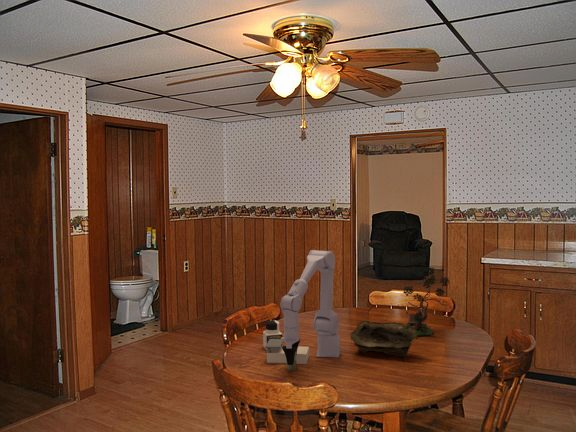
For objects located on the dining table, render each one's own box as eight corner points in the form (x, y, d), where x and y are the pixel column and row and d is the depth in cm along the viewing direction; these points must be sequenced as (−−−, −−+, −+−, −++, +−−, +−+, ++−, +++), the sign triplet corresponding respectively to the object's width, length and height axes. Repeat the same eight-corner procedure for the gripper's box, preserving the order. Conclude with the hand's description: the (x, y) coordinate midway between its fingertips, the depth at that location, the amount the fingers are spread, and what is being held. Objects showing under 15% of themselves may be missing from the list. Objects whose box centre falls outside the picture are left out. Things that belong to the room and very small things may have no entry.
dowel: (297, 367, 197) (296, 347, 197) (295, 370, 194) (295, 350, 193) (288, 367, 198) (287, 347, 197) (286, 370, 194) (286, 349, 194)
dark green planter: (417, 370, 206) (426, 337, 214) (410, 354, 198) (420, 321, 206) (354, 357, 221) (365, 327, 229) (345, 342, 213) (356, 312, 221)
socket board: (309, 355, 212) (309, 339, 212) (306, 364, 201) (306, 347, 201) (270, 354, 214) (269, 338, 214) (265, 363, 203) (265, 346, 203)
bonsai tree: (450, 342, 228) (449, 272, 227) (394, 338, 236) (394, 270, 235) (450, 323, 261) (450, 262, 260) (402, 320, 269) (401, 261, 268)
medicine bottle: (266, 351, 219) (266, 323, 219) (263, 346, 226) (262, 319, 226) (282, 349, 221) (282, 322, 221) (278, 345, 228) (278, 318, 228)
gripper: (283, 321, 203) (284, 355, 203) (277, 331, 188) (278, 367, 189) (301, 322, 202) (301, 356, 202) (296, 331, 187) (297, 368, 188)
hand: (291, 361), depth 196 cm, fingers open, 7 cm apart
